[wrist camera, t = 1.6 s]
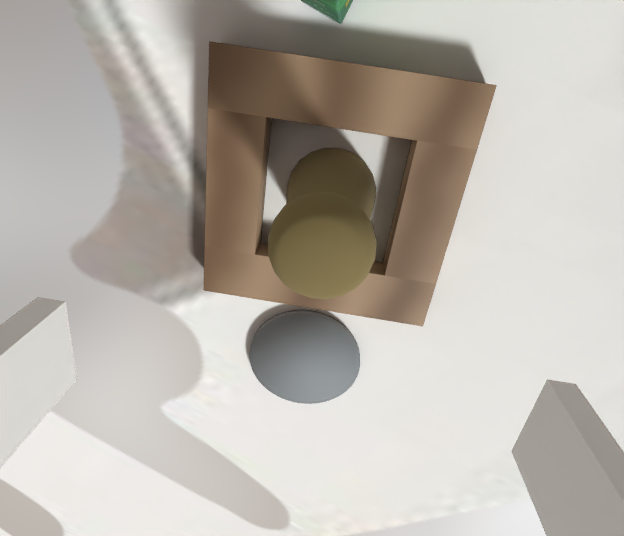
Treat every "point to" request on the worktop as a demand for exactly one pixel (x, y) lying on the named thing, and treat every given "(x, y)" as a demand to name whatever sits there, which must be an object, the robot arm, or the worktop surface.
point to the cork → (325, 225)
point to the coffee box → (331, 8)
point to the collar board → (344, 115)
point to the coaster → (305, 356)
